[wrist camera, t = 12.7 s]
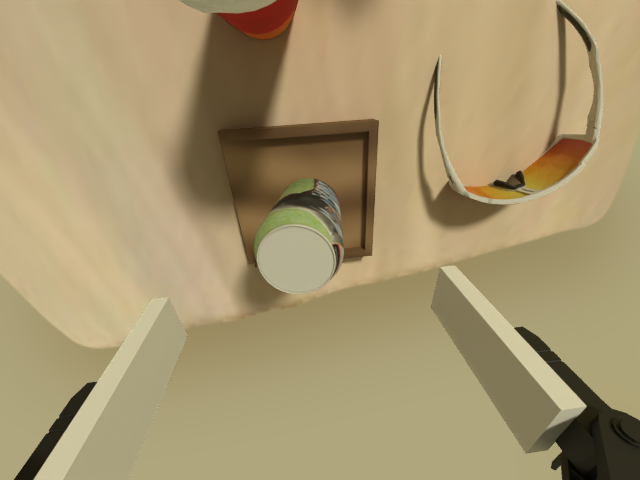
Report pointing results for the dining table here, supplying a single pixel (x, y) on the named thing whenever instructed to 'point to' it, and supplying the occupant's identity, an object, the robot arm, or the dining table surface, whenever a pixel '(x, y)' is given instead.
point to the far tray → (305, 173)
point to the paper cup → (251, 14)
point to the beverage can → (301, 238)
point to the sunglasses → (556, 160)
